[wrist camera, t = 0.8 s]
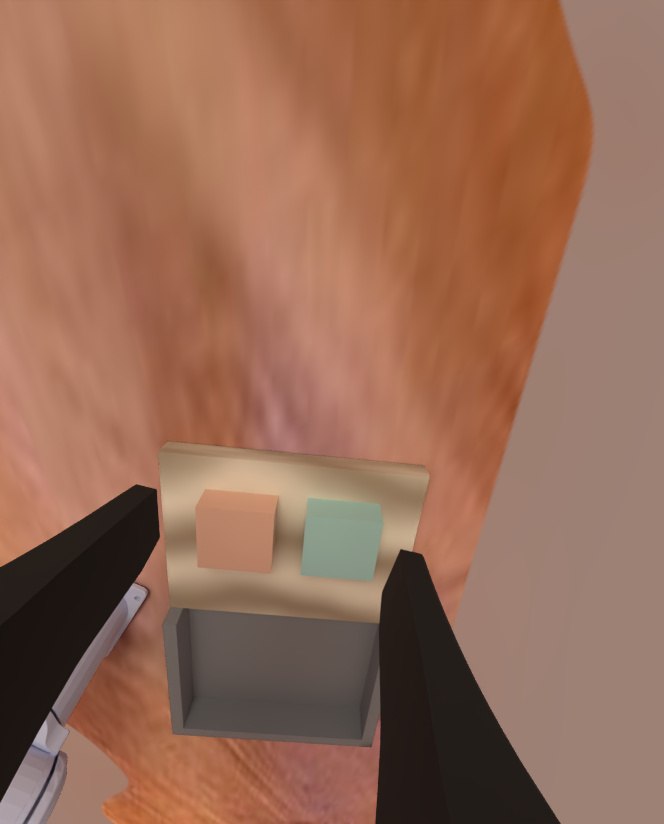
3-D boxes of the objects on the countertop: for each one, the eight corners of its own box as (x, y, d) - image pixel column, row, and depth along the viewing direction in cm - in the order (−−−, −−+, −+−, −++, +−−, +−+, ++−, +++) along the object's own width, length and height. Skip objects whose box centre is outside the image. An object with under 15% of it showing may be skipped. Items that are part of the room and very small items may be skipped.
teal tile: (369, 559, 28) (372, 581, 26) (302, 554, 28) (300, 575, 26) (380, 504, 26) (383, 522, 24) (308, 497, 26) (306, 516, 24)
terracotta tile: (275, 552, 28) (270, 573, 26) (206, 546, 27) (197, 567, 26) (278, 495, 26) (274, 514, 24) (205, 488, 25) (195, 507, 24)
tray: (368, 710, 37) (371, 747, 34) (184, 697, 36) (172, 734, 34) (391, 608, 32) (397, 642, 29) (177, 591, 31) (162, 624, 28)
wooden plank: (391, 608, 32) (394, 624, 30) (177, 591, 31) (170, 607, 30) (424, 465, 26) (429, 477, 25) (167, 441, 26) (158, 451, 24)
